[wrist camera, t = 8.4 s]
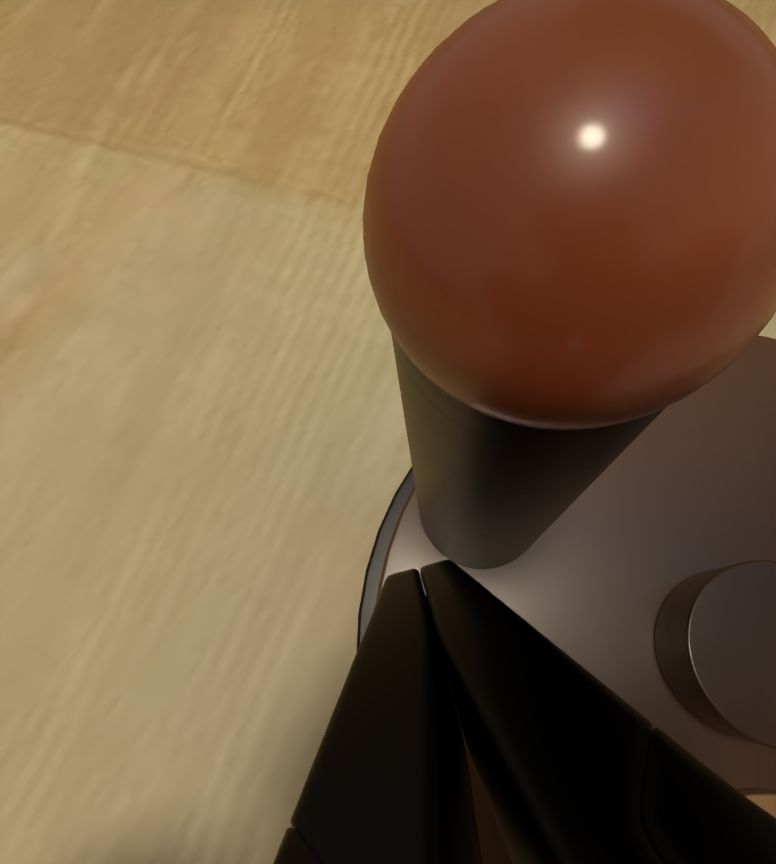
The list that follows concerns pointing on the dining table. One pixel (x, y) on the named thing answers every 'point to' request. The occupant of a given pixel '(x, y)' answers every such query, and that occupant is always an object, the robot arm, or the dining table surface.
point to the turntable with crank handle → (596, 348)
